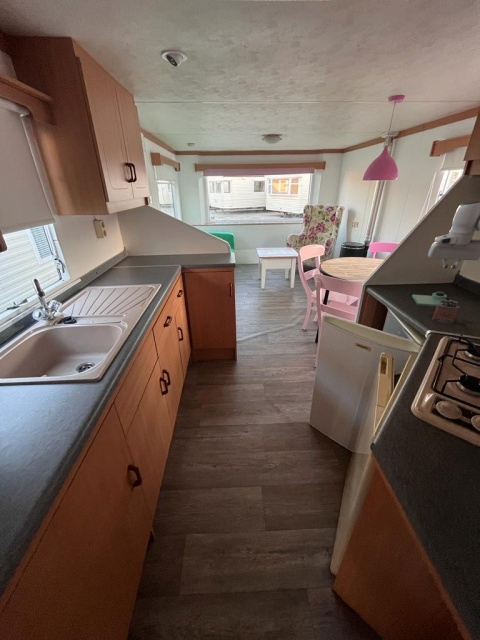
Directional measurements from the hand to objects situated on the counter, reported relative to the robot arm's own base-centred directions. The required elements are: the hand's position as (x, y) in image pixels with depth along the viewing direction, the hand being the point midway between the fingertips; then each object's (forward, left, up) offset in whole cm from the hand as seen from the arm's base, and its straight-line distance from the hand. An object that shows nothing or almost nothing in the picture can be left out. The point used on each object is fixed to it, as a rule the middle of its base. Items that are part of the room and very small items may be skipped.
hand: (448, 268), depth 130 cm
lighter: (+6, +25, -17) cm, 31 cm away
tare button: (0, 0, -15) cm, 15 cm away
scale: (+5, +3, -17) cm, 18 cm away
